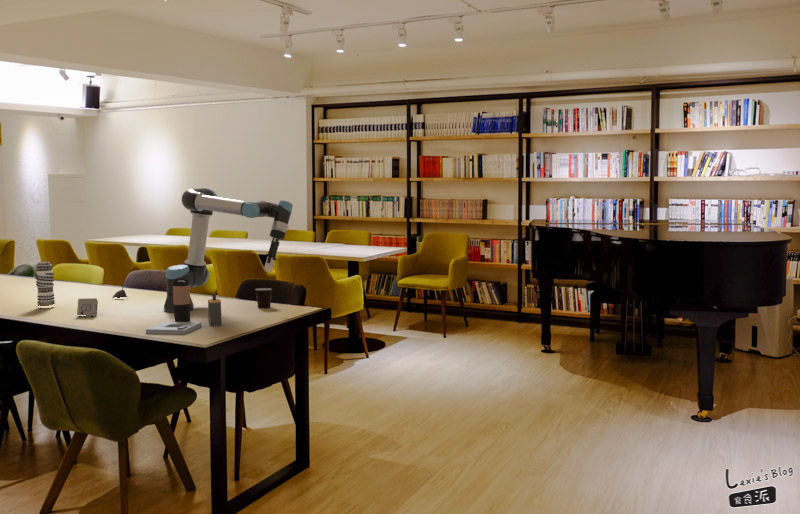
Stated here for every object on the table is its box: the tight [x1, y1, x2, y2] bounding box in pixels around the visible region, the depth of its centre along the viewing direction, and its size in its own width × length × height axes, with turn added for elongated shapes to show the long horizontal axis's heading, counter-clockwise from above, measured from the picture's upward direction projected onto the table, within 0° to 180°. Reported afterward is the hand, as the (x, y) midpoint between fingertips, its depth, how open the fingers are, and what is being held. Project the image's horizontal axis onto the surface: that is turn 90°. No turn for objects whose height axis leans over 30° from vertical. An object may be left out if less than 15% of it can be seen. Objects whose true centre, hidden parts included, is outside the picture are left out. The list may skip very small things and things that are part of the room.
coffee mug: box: [255, 287, 273, 309], centre depth 380 cm, size 12×9×10 cm
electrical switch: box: [76, 297, 99, 317], centre depth 359 cm, size 9×5×9 cm, turn 90°
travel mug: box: [173, 279, 191, 322], centre depth 341 cm, size 8×8×20 cm
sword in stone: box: [112, 278, 128, 298], centre depth 417 cm, size 10×8×12 cm
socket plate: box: [145, 321, 202, 336], centre depth 321 cm, size 18×18×3 cm
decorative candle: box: [34, 261, 56, 307], centre depth 385 cm, size 9×9×25 cm
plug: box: [207, 292, 223, 328], centre depth 331 cm, size 5×5×15 cm
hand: (267, 270), depth 359 cm, fingers open, 13 cm apart
